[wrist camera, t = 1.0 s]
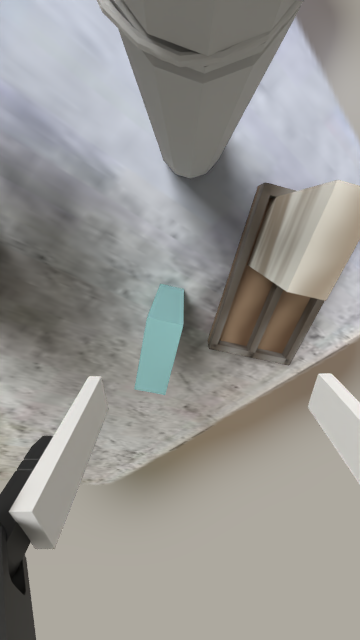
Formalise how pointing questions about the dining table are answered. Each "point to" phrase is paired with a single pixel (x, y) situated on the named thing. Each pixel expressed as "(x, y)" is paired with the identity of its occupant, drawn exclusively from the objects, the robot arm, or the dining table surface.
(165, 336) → the teal door
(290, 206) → the track base
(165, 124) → the water bottle
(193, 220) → the dining table surface
